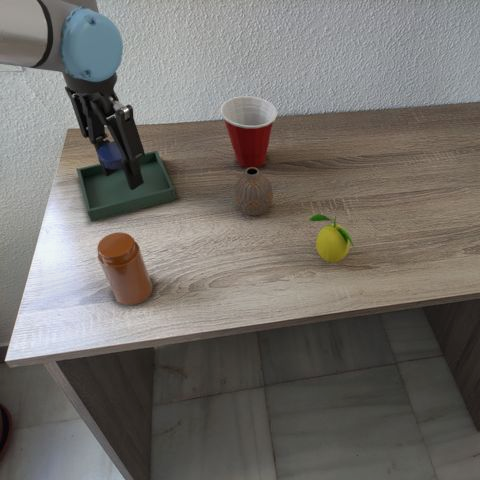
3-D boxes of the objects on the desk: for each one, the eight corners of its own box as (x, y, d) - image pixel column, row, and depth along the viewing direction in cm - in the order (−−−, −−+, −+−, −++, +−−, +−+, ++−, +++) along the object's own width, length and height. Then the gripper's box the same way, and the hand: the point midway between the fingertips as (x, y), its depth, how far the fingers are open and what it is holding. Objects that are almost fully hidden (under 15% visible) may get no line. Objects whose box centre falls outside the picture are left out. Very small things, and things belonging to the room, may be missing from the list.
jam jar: (119, 310, 70) (98, 264, 63) (111, 284, 74) (90, 237, 66) (156, 297, 72) (140, 251, 65) (147, 272, 76) (131, 225, 68)
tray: (91, 222, 83) (86, 211, 81) (80, 179, 91) (76, 168, 89) (176, 199, 88) (174, 188, 86) (159, 160, 96) (156, 150, 94)
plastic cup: (276, 177, 94) (274, 126, 85) (222, 175, 94) (215, 123, 85) (280, 146, 101) (279, 95, 93) (230, 143, 101) (224, 92, 92)
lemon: (307, 248, 81) (309, 205, 74) (339, 241, 82) (344, 198, 75) (320, 277, 77) (323, 234, 69) (353, 269, 78) (360, 226, 71)
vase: (249, 226, 84) (245, 189, 78) (229, 205, 88) (224, 168, 81) (280, 211, 87) (279, 173, 81) (260, 191, 91) (257, 154, 84)
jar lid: (138, 148, 87) (136, 139, 86) (133, 169, 83) (130, 160, 81) (103, 149, 86) (100, 140, 85) (96, 170, 82) (93, 161, 81)
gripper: (148, 68, 70) (175, 187, 87) (66, 34, 77) (106, 151, 93) (107, 88, 65) (144, 210, 82) (23, 50, 72) (73, 170, 89)
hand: (124, 178), depth 88 cm, fingers closed on jar lid, 6 cm apart
